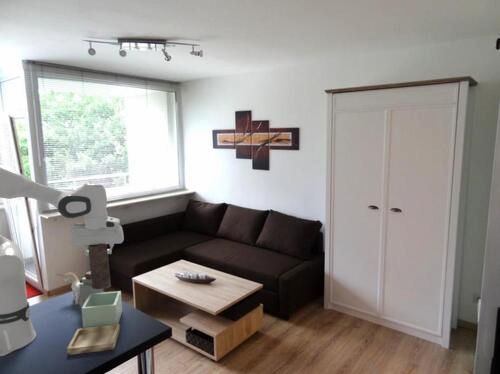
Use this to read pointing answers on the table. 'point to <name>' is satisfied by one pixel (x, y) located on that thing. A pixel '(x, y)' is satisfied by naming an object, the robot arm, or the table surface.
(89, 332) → the tray
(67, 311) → the table surface
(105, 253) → the wooden log
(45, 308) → the table surface
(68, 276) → the unicorn figurine
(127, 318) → the table surface
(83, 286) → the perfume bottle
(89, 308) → the mint green open box
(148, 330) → the table surface
